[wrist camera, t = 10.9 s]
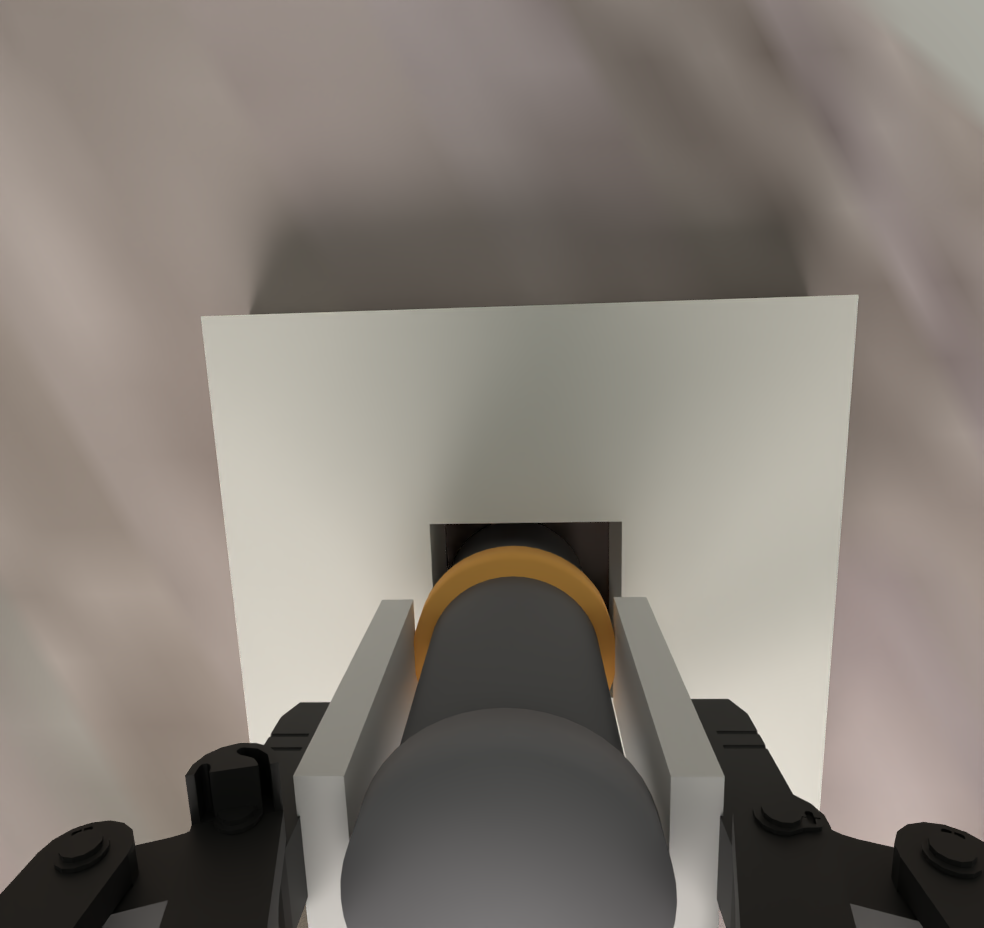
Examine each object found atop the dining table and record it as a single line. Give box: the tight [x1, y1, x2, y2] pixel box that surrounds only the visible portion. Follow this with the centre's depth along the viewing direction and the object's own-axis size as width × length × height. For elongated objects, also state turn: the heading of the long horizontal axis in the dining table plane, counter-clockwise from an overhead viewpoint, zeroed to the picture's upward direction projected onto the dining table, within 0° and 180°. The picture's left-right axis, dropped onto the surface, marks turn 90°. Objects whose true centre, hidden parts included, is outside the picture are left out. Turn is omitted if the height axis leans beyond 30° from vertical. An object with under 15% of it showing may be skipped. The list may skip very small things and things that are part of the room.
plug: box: [340, 523, 677, 928], centre depth 15 cm, size 5×5×12 cm
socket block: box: [201, 295, 859, 811], centre depth 20 cm, size 16×16×3 cm
